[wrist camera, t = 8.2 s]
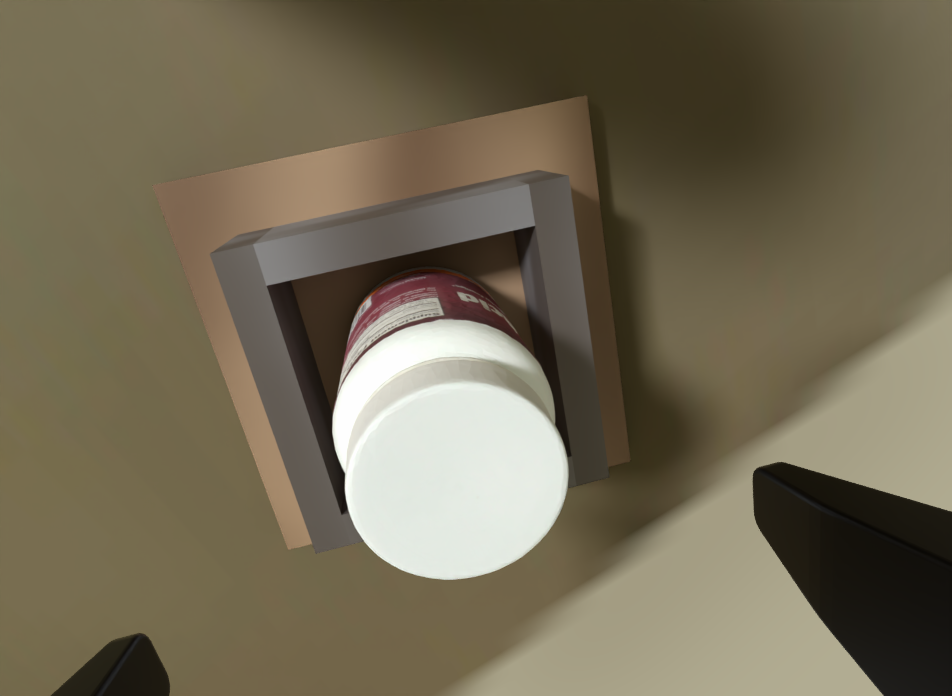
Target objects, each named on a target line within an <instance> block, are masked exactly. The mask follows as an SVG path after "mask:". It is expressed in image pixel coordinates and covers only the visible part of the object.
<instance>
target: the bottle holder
mask: <svg viewBox="0 0 952 696" xmlns="http://www.w3.org/2000/svg"><path fill="white" fill-rule="evenodd" d="M152 186H153V188H154V191H155V194H156V196H157V199H158V202H159V205H160V207H161V210H162V213H163V215H164V218H165V221H166V223H167V226H168V229H169V231H170V234H171V237H172V239H173V242H174V245H175V247H176V250H177V253H178V255H179V258H180V261H181V263H182V266H183V269H184V271H185V274H186V277H187V280H188V282H189V285H190V288H191V290H192V293H193V296H194V298H195V301H196V304H197V306H198V309H199V312H200V314H201V317H202V320H203V322H204V325H205V328H206V330H207V333H208V336H209V338H210V341H211V344H212V347H213V349H214V352H215V355H216V357H217V360H218V363H219V365H220V368H221V371H222V373H223V376H224V379H225V381H226V384H227V387H228V389H229V392H230V395H231V397H232V400H233V403H234V405H235V408H236V411H237V414H238V416H239V419H240V422H241V424H242V427H243V430H244V432H245V435H246V438H247V440H248V443H249V446H250V448H251V451H252V454H253V456H254V459H255V462H256V464H257V467H258V470H259V472H260V475H261V478H262V481H263V483H264V486H265V489H266V491H267V494H268V497H269V499H270V502H271V505H272V507H273V510H274V513H275V515H276V518H277V521H278V523H279V526H280V529H281V531H282V534H283V537H284V539H285V542H286V545H287V548H288V550H290V549H294V548H298V547H301V546H305V545H309V544H312V545H313V547H314V550H315V553H320V552H324V551H328V550H332V549H336V548H340V547H343V546H347V545H351V544H355V543H359V542H363V541H364V540H363V539H362V537H361V536H360V534H359V533H358V531H357V530H356V528H355V526H354V524H353V521H352V519H351V516H350V514H349V510H348V506H347V502H346V495H345V472H344V470H343V468H342V466H341V464H340V461H339V459H338V456H337V453H336V451H335V446H334V441H333V435H332V417H333V409H334V404H335V400H336V397H337V393H338V388H339V383H340V377H341V373H342V367H343V363H344V357H345V352H346V348H347V342H348V338H349V333H350V328H351V324H352V321H353V318H354V316H355V313H356V311H357V309H358V307H359V306H360V304H361V303H362V301H363V300H364V298H365V297H366V296H367V295H368V293H369V292H370V291H371V290H372V289H373V288H374V287H375V286H376V285H378V284H379V283H381V282H382V281H384V280H385V279H387V278H388V277H390V276H392V275H394V274H396V273H399V272H402V271H405V270H408V269H413V268H419V267H441V268H447V269H451V270H454V271H457V272H460V273H463V274H465V275H466V276H468V277H470V278H472V279H473V280H474V281H476V282H477V283H479V284H480V285H481V286H482V287H483V288H484V289H485V290H486V291H487V292H488V293H489V294H490V295H491V297H492V298H493V299H494V300H495V302H496V303H497V305H498V306H499V307H500V309H501V310H502V311H503V312H504V314H505V315H506V317H507V318H508V320H509V321H510V322H511V324H512V325H513V327H514V328H515V330H516V331H517V332H518V334H519V336H520V338H521V339H522V341H523V342H524V343H525V345H526V346H527V347H528V349H529V350H530V351H531V352H532V353H533V354H534V356H535V357H536V359H537V360H538V361H539V363H540V365H541V368H542V370H543V372H544V374H545V376H546V379H547V381H548V383H549V386H550V389H551V392H552V396H553V401H554V408H555V426H556V428H557V429H558V431H559V433H560V436H561V438H562V440H563V443H564V446H565V450H566V454H567V459H568V469H569V478H568V488H570V487H574V486H578V485H582V484H586V483H590V482H593V481H597V480H601V479H605V478H609V470H608V467H611V466H615V465H619V464H622V463H626V462H630V461H631V460H630V452H629V443H628V435H627V426H626V418H625V410H624V401H623V393H622V384H621V376H620V368H619V359H618V351H617V343H616V334H615V326H614V317H613V309H612V301H611V292H610V284H609V275H608V267H607V259H606V250H605V242H604V234H603V225H602V217H601V208H600V200H599V192H598V183H597V175H596V166H595V158H594V150H593V141H592V133H591V125H590V116H589V108H588V99H587V95H585V96H580V97H575V98H570V99H565V100H560V101H556V102H551V103H546V104H541V105H536V106H532V107H527V108H522V109H517V110H512V111H507V112H503V113H498V114H493V115H488V116H483V117H479V118H474V119H469V120H464V121H459V122H455V123H450V124H445V125H440V126H435V127H430V128H426V129H421V130H416V131H411V132H406V133H402V134H397V135H392V136H387V137H382V138H378V139H373V140H368V141H363V142H358V143H353V144H349V145H344V146H339V147H334V148H329V149H325V150H320V151H315V152H310V153H305V154H300V155H296V156H291V157H286V158H281V159H276V160H272V161H267V162H262V163H257V164H252V165H248V166H243V167H238V168H233V169H228V170H223V171H219V172H214V173H209V174H204V175H199V176H195V177H190V178H185V179H180V180H175V181H171V182H166V183H161V184H156V185H152Z"/></svg>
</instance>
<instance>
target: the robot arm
mask: <svg viewBox="0 0 952 696" xmlns="http://www.w3.org/2000/svg"><path fill="white" fill-rule="evenodd" d="M753 499H754V516H755V520H756V523H757V525H758V527H759V529H760V531H761V532H762V534H763V535H764V537H765V538H766V540H767V541H768V543H769V544H770V546H771V547H772V549H773V550H774V551H775V553H776V555H777V556H778V558H779V559H780V561H781V562H782V564H783V565H784V567H785V568H786V569H787V571H788V572H789V574H790V575H791V577H792V578H793V580H794V581H795V583H796V584H797V586H798V587H799V589H800V590H801V592H802V593H803V595H804V596H805V598H806V599H807V601H808V602H809V603H810V605H811V606H812V608H813V609H814V611H815V612H816V613H817V615H818V616H819V618H820V619H821V620H822V621H823V623H824V624H825V625H826V626H827V628H828V629H829V630H830V631H831V632H832V634H833V635H834V636H835V637H836V639H837V640H838V641H839V642H840V643H841V645H842V646H843V647H844V648H845V650H846V651H847V652H848V653H849V654H850V655H851V657H852V658H853V659H854V660H855V662H856V663H857V664H858V665H859V666H860V668H861V669H862V670H863V671H864V673H865V674H866V675H867V676H868V677H869V679H870V680H871V681H872V682H873V683H874V685H875V686H876V687H877V688H878V689H879V691H880V692H881V693H882V694H883V695H884V696H952V512H951V511H947V510H944V509H941V508H937V507H933V506H930V505H927V504H923V503H920V502H917V501H913V500H910V499H907V498H903V497H900V496H896V495H893V494H890V493H886V492H883V491H879V490H876V489H873V488H869V487H866V486H862V485H859V484H856V483H852V482H848V481H845V480H842V479H838V478H835V477H832V476H828V475H825V474H821V473H818V472H815V471H811V470H808V469H804V468H801V467H797V466H794V465H791V464H787V463H784V462H777V463H773V464H770V465H766V466H762V467H759V468H757V469H756V470H755V471H754V473H753ZM169 693H170V683H169V678H168V675H167V672H166V670H165V668H164V666H163V664H162V662H161V660H160V658H159V656H158V654H157V652H156V650H155V648H154V646H153V644H152V642H151V641H150V639H149V637H148V636H146V635H145V634H142V633H137V634H133V635H130V636H126V637H122V638H118V639H115V640H113V641H111V642H109V643H108V644H107V645H106V646H105V647H104V648H103V649H101V650H100V651H99V652H98V653H97V654H96V655H95V656H94V657H93V658H92V659H90V660H89V661H88V662H87V663H86V664H85V665H84V666H83V667H82V668H81V669H79V670H78V671H77V672H76V673H75V674H74V675H73V676H72V677H71V678H70V679H68V680H67V681H66V682H65V683H64V684H63V685H62V686H61V687H60V688H59V689H57V690H56V691H55V692H54V693H53V694H52V695H51V696H169Z"/></svg>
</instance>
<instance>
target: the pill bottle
mask: <svg viewBox="0 0 952 696" xmlns="http://www.w3.org/2000/svg"><path fill="white" fill-rule="evenodd" d="M332 435H333V441H334V446H335V451H336V453H337V456H338V459H339V461H340V464H341V466H342V468H343V470H344V472H345V495H346V502H347V506H348V510H349V514H350V516H351V519H352V521H353V524H354V526H355V528H356V530H357V531H358V533H359V534H360V536H361V537H362V539H363V540H364V541H365V543H366V544H367V545H368V546H369V547H370V549H372V550H373V551H374V552H375V553H376V554H377V555H378V556H379V557H381V558H382V559H384V560H385V561H387V562H388V563H390V564H391V565H393V566H395V567H397V568H399V569H401V570H403V571H406V572H408V573H411V574H415V575H418V576H423V577H427V578H434V579H444V580H454V579H463V578H471V577H475V576H480V575H483V574H486V573H491V572H493V571H496V570H499V569H501V568H503V567H505V566H507V565H509V564H511V563H513V562H514V561H516V560H518V559H519V558H521V557H523V556H524V555H525V554H526V553H527V552H529V551H530V550H531V549H532V548H533V547H534V546H536V545H537V544H538V543H539V542H540V541H541V540H542V538H543V537H544V536H545V535H546V534H547V532H548V531H549V530H550V528H551V527H552V526H553V524H554V522H555V521H556V519H557V517H558V515H559V513H560V511H561V509H562V507H563V503H564V500H565V497H566V493H567V488H568V478H569V469H568V459H567V454H566V450H565V446H564V443H563V440H562V438H561V436H560V433H559V431H558V429H557V428H556V426H555V408H554V401H553V396H552V392H551V389H550V386H549V383H548V381H547V379H546V376H545V374H544V372H543V370H542V368H541V365H540V363H539V361H538V360H537V359H536V357H535V356H534V354H533V353H532V352H531V351H530V350H529V349H528V347H527V346H526V345H525V343H524V342H523V341H522V339H521V338H520V336H519V334H518V332H517V331H516V330H515V328H514V327H513V325H512V324H511V322H510V321H509V320H508V318H507V317H506V315H505V314H504V312H503V311H502V310H501V309H500V307H499V306H498V305H497V303H496V302H495V300H494V299H493V298H492V297H491V295H490V294H489V293H488V292H487V291H486V290H485V289H484V288H483V287H482V286H481V285H480V284H479V283H477V282H476V281H474V280H473V279H472V278H470V277H468V276H466V275H465V274H463V273H460V272H457V271H454V270H451V269H447V268H441V267H419V268H413V269H408V270H405V271H402V272H399V273H396V274H394V275H392V276H390V277H388V278H387V279H385V280H384V281H382V282H381V283H379V284H378V285H376V286H375V287H374V288H373V289H372V290H371V291H370V292H369V293H368V295H367V296H366V297H365V298H364V300H363V301H362V303H361V304H360V306H359V307H358V309H357V311H356V313H355V316H354V318H353V321H352V324H351V328H350V333H349V338H348V342H347V348H346V352H345V357H344V363H343V367H342V373H341V377H340V383H339V388H338V393H337V397H336V400H335V404H334V409H333V417H332Z"/></svg>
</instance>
